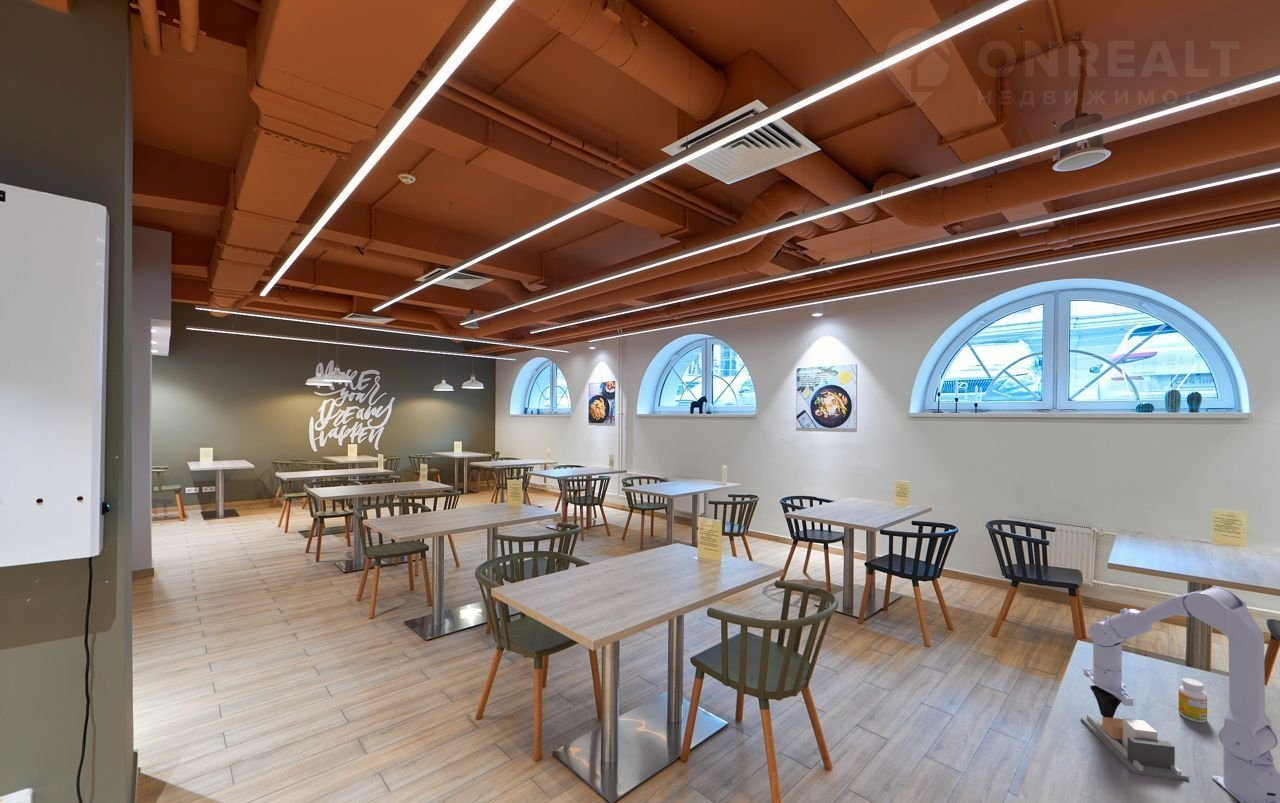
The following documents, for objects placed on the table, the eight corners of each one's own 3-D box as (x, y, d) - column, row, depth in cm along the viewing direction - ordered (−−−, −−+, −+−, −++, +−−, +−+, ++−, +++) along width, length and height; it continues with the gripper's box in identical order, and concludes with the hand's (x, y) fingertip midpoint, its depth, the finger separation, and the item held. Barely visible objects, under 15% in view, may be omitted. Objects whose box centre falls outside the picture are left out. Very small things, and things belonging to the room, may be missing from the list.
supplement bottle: (1176, 708, 146) (1177, 674, 146) (1204, 715, 143) (1205, 680, 143) (1180, 717, 142) (1180, 682, 142) (1209, 725, 139) (1209, 689, 138)
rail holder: (1188, 780, 120) (1188, 753, 119) (1132, 772, 122) (1132, 746, 122) (1128, 725, 139) (1128, 702, 139) (1080, 720, 142) (1080, 697, 141)
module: (1157, 760, 125) (1157, 732, 125) (1135, 758, 126) (1135, 729, 126) (1143, 748, 129) (1143, 720, 129) (1122, 745, 130) (1122, 718, 130)
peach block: (1151, 742, 129) (1151, 730, 129) (1112, 738, 131) (1112, 726, 131) (1139, 732, 133) (1139, 720, 133) (1102, 728, 135) (1102, 716, 135)
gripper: (1146, 682, 131) (1146, 735, 132) (1103, 653, 146) (1103, 701, 146) (1115, 680, 132) (1115, 733, 132) (1075, 652, 147) (1075, 699, 147)
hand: (1107, 716), depth 139 cm, fingers closed
